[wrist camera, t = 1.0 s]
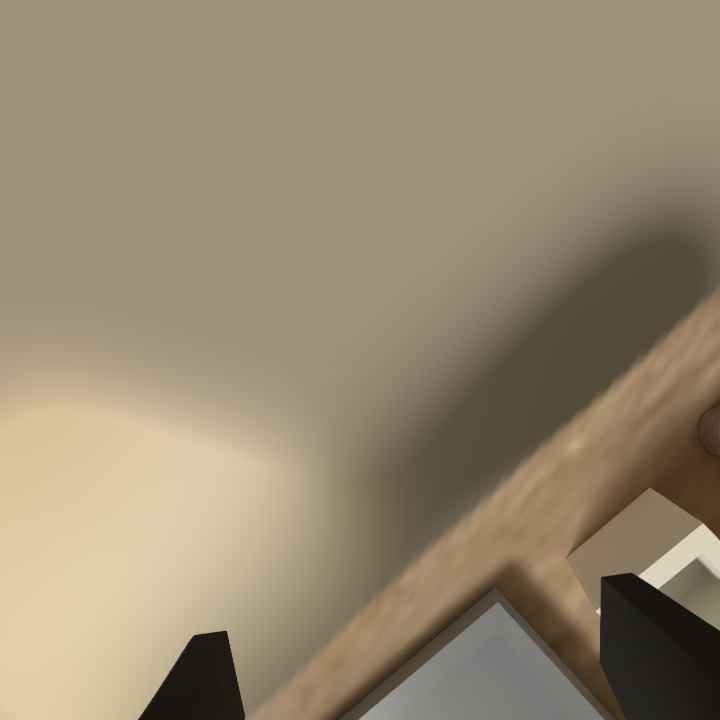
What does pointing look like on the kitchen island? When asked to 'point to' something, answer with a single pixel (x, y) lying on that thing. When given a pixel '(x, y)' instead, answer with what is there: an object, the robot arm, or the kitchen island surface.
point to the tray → (483, 675)
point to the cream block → (655, 555)
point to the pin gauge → (710, 430)
